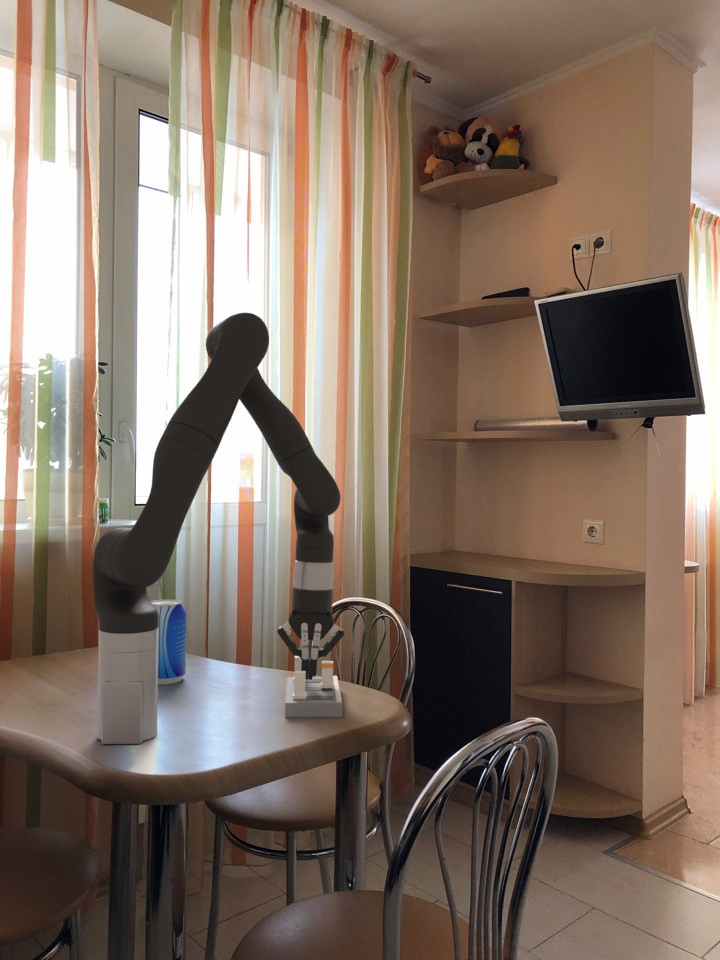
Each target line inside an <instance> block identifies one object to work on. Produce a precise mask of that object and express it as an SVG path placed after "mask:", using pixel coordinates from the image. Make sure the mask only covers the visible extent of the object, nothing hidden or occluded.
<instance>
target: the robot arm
mask: <svg viewBox="0 0 720 960" xmlns="http://www.w3.org/2000/svg"><path fill="white" fill-rule="evenodd" d="M269 346H270V334H269V330H268V327H267V325H266V323H265V321H264V320H263V319H262V318H261V317H260V316H259V315H257V314H254V313H251V312H239V313H235V314H232V315H230V316H229V317H226V318H225V319H223V320H222V321H220V322H219V323H217V324H216V325H214V326H213V327H212V328H211V329H210V330H209V332H208V334H207V335H206V339H205V349H206V353H207V355H208V357H209V359H210V362H209V365H208V366H207V368H206V370H205V372H204V373H203V374H202V377H201V378H200V379H199V381H198V382H197V383H196V385H194V387H193V388H192V389H191V391H189V393H188V394H187V395H186V397H185V398H184V400H183V401H182V402H181V403H180V405H179V406H178V407H177V409H176V410H175V412H174V413H173V414H172V415H171V417H170V419H169V422H168V423H167V425H166V427H165V429H164V431H163V433H162V435H161V437H160V438H159V441H158V443H157V445H156V449H155V451H154V455H153V462H152V475H151V477H152V478H151V487H150V492H149V495H148V498H147V500H146V502H145V505H144V507H143V509H142V510H141V513H140V514H139V517H138V518H137V519H136V521H135V523H134V525H133V526H132V527H131V528H130V527H116V528H112V529H110V530H108V531H107V532H105V533H104V534H103V535H102V536H100V538H99V540H98V541H97V543H96V546H95V547H94V548H95V549H94V553H93V559H92V570H93V571H92V574H93V575H92V577H93V580H92V581H93V585H92V586H93V603H94V610H95V613H96V616H97V617H98V618H97V619H98V662H97V663H98V668H97V669H98V670H97V671H98V673H97V674H98V676H97V739H98V740H99V741H101V742H100V743H101V745H122V744H127V745H128V744H129V745H130V744H133V745H134V744H136V745H137V744H142V743H144V742H145V741H147V740H150V739H153V738H155V736H157V734H158V710H159V709H158V700H159V699H158V697H159V696H158V693H159V690H158V689H159V687H158V686H159V685H158V631H159V615H158V611H157V609H156V608H155V607H154V606H153V604H152V603H151V602H150V601H151V599H150V598H149V596H148V592H147V588H148V587H151V586H153V585H154V584H156V583H157V582H158V581H160V579H161V578H162V576H163V575H164V574H165V573H166V572H165V571H166V570H167V567H168V566H169V564H170V561H171V559H172V555H173V553H174V551H175V548H176V547H175V546H176V545H177V542H178V538H179V536H180V532H181V531H182V528H183V524H184V521H185V519H186V517H187V515H188V511H189V509H190V507H191V505H192V504H193V501H194V499H195V496H196V495H197V493H198V491H199V488H200V486H201V484H202V481H203V479H204V478H205V475H206V473H207V472H208V470H209V468H210V466H211V464H212V462H213V459H214V458H215V456H216V453H217V451H218V449H219V447H220V444H221V442H222V440H223V438H224V435H225V433H226V430H227V429H228V426H229V424H230V422H231V420H232V417H233V415H234V413H235V411H236V408H237V406H238V403H239V401H240V402H241V404H242V405H243V407H244V409H246V411H247V412H248V414H249V415H250V417H251V418H252V420H253V422H254V423H255V424H256V427H257V428H258V430H259V432H260V433H261V434H262V436H263V438H264V440H265V441H266V444H267V445H268V448H269V449H270V451H271V453H272V455H273V457H274V459H275V461H276V462H277V465H278V466H279V468H280V469H281V470H282V472H283V473H284V474H286V475H287V476H288V477H289V478H290V479H291V480H292V482H293V484H294V486H295V487H296V489H295V492H294V496H293V511H294V512H293V515H294V522H295V525H294V526H295V530H296V543H295V562H294V568H293V575H292V590H291V591H292V593H291V594H292V595H291V613H290V615H289V617H288V621H287V622H286V623H284V624H283V625H280V626H278V627H277V634H278V635H279V637H280V638H281V640H282V641H283V642H284V644H285V646H286V647H287V649H288V650H289V651H290V653H291V654H292V655H293V656H294V657H295V656H298V657H300V658H301V659H302V663H301V671H306V678H305V680H308V677H309V680H312V677H317V668H318V667H317V666H318V660H319V658H322V657H324V658H325V657H327V656H328V655H329V654H330V652H331V651H332V650H333V648H335V647H336V645H337V644H338V643H339V641H340V640H341V639H342V638H344V636H345V631H344V629H343V628H341V627H339V626H338V625H337V624H336V623H335V618H334V616H333V602H334V600H333V597H334V583H335V582H334V579H335V577H334V573H335V572H334V548H335V546H334V545H335V541H334V540H335V539H334V535H333V534H334V533H332V531H331V529H330V527H329V525H330V523H329V517H330V516H331V515H334V513H335V512H336V511H337V510H338V509H339V506H340V504H341V492H340V488H339V486H338V485H337V482H336V480H335V479H334V477H333V475H332V474H331V473H330V472H329V470H328V469H327V467H326V466H325V465H324V463H323V462H322V460H321V459H320V458H319V456H317V454H316V452H315V450H314V448H313V446H312V443H311V441H310V439H309V438H308V436H307V434H306V433H305V430H304V429H303V427H302V425H301V423H300V421H299V420H298V419H297V417H296V416H295V415H294V414H293V412H292V411H291V410H290V409H289V408H288V407H287V406H286V405H285V404H284V403H283V402H282V401H281V400H280V399H279V398H278V397H277V396H276V394H275V393H274V392H273V391H272V390H271V389H270V387H269V386H268V385H267V382H266V381H265V380H264V378H263V377H262V374H261V373H260V369H259V368H258V367H259V366H260V364H261V363H262V362H263V360H264V359H265V356H266V354H267V352H268V349H269ZM291 629H292V631H293V632H294V633H295V636H296V637H297V638H299V640H300V641H301V648H299V647H298V646H297V644H296V642H295V641H294V639H292V637H291V636H290V635H291V633H292V631H291ZM329 632H330V636H331V637H330V638H329V639H328V640H327V641H326V642H325V643H324V645H323V646H322V647H321V648H320V643H321V642H320V641H321V640H323V639H324V638H325V637H326V636H327V634H328V633H329ZM309 641H312V642H311V648H310V649H311V650H310V657H309Z"/></svg>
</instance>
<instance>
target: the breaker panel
mask: <svg viewBox="0 0 720 960" xmlns="http://www.w3.org/2000/svg"><path fill="white" fill-rule="evenodd" d="M301 663H302V659H301V658H300V657H298V656H294V672H293V674H294V675H293V677H291V676H290V677H288V676H287V677H286V683H285V684H286V686H285V687H286V688H285V699H284V700H285V701H284V702H285V703H284V718H342V717H343V699H342V693H341V688H340V687H341V686H340V682H339V678H338V676H337V675H333V682H334V688H321V682H322V676H315V677H312V680H309V677H308V680H305V678H306V671H301Z"/></svg>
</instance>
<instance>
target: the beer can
mask: <svg viewBox="0 0 720 960" xmlns="http://www.w3.org/2000/svg"><path fill="white" fill-rule="evenodd" d="M150 602H151V603H152V604H153V606H154V607H155V608H156V609H157V611H158V615H159V631H158V686H161V685H163V686H164V685H173V684H177V683H179V682H181V681H182V680H183V677H184V676H185V675H186V668H187V667H186V661H187V659H186V655H187V654H186V653H187V650H186V649H187V648H186V647H187V612H186V610H185V608H184V607H183V604H182V601H181V600H179V599H178V600H177V599H156V600H155V599H154V600H150Z"/></svg>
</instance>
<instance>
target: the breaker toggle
mask: <svg viewBox="0 0 720 960" xmlns="http://www.w3.org/2000/svg"><path fill="white" fill-rule="evenodd" d="M333 676H334V660H322V661H321V677H322V682H321V688H334V682H333Z"/></svg>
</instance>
